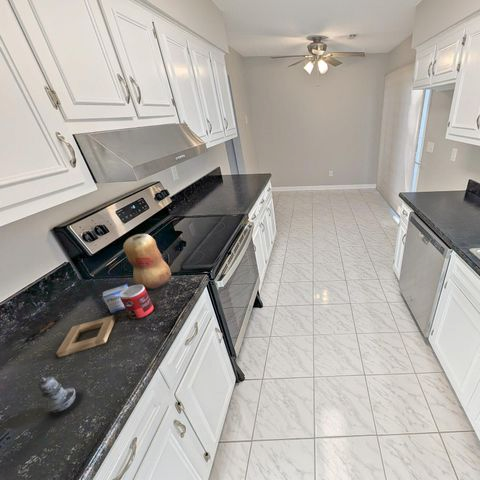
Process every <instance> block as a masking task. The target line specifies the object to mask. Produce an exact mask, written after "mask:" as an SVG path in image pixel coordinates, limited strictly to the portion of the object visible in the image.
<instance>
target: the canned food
mask: <svg viewBox="0 0 480 480" xmlns="http://www.w3.org/2000/svg"><path fill="white" fill-rule="evenodd" d="M119 297H120V299H121V301H122V303H123V305H124V307H125V308H124V309H125V310H126V312H127V314H128V316H129V318H131V320H137V319H141V318H144V317H146V316H148V315H149V314H151V313H152V312H153V310H154V305H153V303H152V300H151V298H150V296H149V294H148V291H147V289H145V287H144V286H143V285H137V284H133V285H131V286H128V288H126V289H124V290H122V291H121V292H120V294H119Z"/></svg>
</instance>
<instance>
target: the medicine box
mask: <svg viewBox="0 0 480 480" xmlns="http://www.w3.org/2000/svg"><path fill="white" fill-rule="evenodd" d="M128 287H129V286H128V284H127V283H126V284H123V285H120V286H116V287H114V288H111V289H107V290H105V291H103V292H102V300H103V301H104V303H105V305H106V306H107V308H108V310H109V312H110V313H111V314H113V313H116V312H118V311H121V310H125V309H126V308H125V307H124V305H123V303H122V301H121V299H120V297H119V294H120V292H121V291H122V290H124V289H126V288H128Z"/></svg>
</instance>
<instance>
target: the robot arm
mask: <svg viewBox="0 0 480 480" xmlns="http://www.w3.org/2000/svg"><path fill="white" fill-rule="evenodd" d="M15 435H16V432H15V431H14V430H13V428H5V429H4V430H3V431H1V433H0V452H1V451H2V450H3V449H4V448H5V447H6V446H7V445H8V444H9V443H10V442H11V441H12V440H13V438H14V437H15Z"/></svg>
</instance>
